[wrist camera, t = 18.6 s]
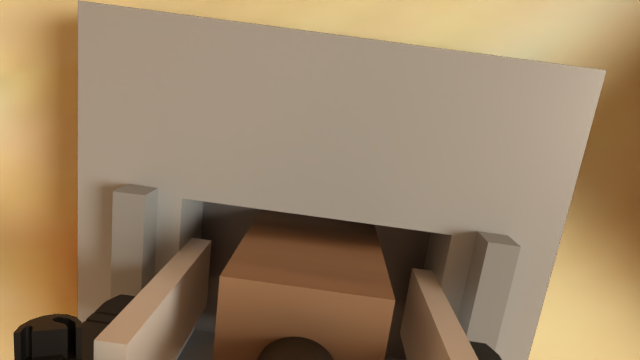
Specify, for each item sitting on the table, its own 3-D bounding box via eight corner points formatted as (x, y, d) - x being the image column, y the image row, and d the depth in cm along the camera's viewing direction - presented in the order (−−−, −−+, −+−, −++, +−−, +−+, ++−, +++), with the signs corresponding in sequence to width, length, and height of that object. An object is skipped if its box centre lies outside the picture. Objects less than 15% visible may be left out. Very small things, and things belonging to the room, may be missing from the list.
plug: (260, 208, 17) (185, 332, 8) (374, 224, 17) (412, 363, 8) (249, 322, 18) (172, 531, 9) (355, 337, 18) (372, 559, 9)
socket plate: (126, 16, 16) (56, -7, 12) (555, 73, 16) (628, 68, 12) (113, 492, 21) (61, 588, 17) (441, 539, 20) (465, 646, 17)
